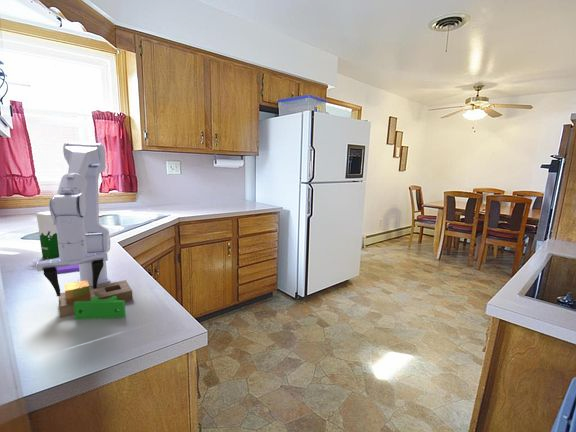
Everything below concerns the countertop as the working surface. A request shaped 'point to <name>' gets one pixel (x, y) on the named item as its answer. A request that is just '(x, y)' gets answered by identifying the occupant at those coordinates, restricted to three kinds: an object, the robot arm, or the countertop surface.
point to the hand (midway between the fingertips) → (77, 291)
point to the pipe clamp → (99, 308)
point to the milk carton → (48, 235)
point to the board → (102, 291)
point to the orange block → (77, 290)
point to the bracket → (68, 269)
